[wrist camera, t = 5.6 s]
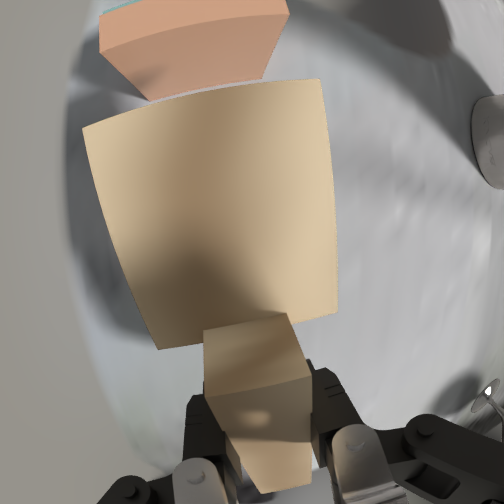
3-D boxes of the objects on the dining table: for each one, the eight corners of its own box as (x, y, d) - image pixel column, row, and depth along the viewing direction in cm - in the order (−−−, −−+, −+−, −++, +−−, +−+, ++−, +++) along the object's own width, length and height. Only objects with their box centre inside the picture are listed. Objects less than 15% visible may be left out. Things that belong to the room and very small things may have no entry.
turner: (307, 84, 7) (374, 58, 3) (323, 424, 14) (342, 473, 10) (96, 128, 6) (23, 132, 3) (223, 445, 13) (229, 498, 10)
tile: (254, 49, 14) (276, -24, 7) (261, 78, 15) (289, 14, 7) (145, 71, 14) (99, 11, 6) (149, 101, 15) (99, 52, 7)
